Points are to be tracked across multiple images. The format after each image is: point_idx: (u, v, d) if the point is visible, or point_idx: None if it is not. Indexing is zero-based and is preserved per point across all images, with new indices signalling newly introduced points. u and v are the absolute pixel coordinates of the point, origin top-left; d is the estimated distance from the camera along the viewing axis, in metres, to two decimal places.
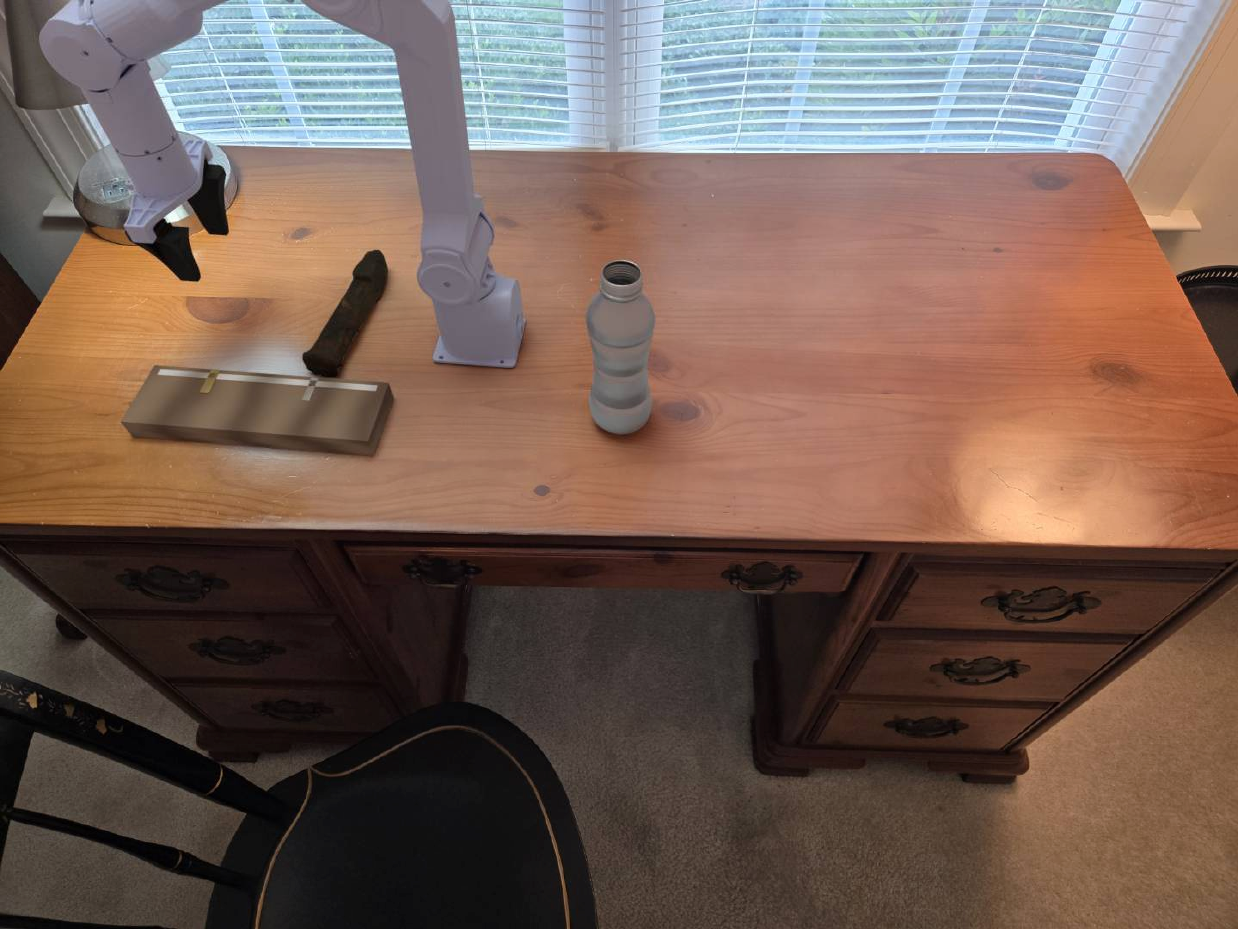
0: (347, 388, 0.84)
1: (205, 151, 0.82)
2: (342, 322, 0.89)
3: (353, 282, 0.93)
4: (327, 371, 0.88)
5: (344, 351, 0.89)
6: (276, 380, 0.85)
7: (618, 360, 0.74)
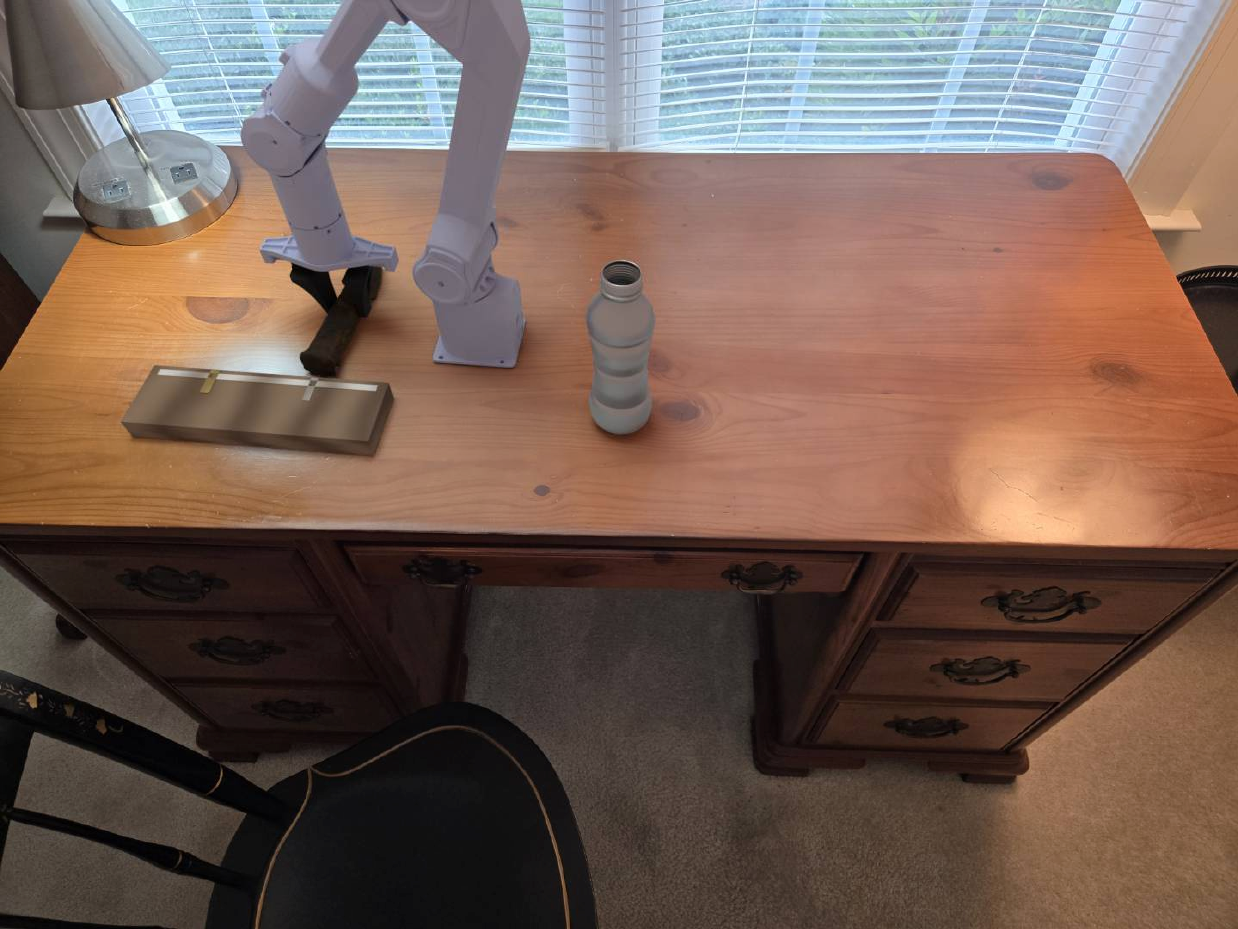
0: (347, 388, 0.84)
1: (382, 262, 0.85)
2: (338, 321, 0.89)
3: None
4: (325, 371, 0.87)
5: (341, 350, 0.89)
6: (276, 380, 0.85)
7: (618, 360, 0.74)
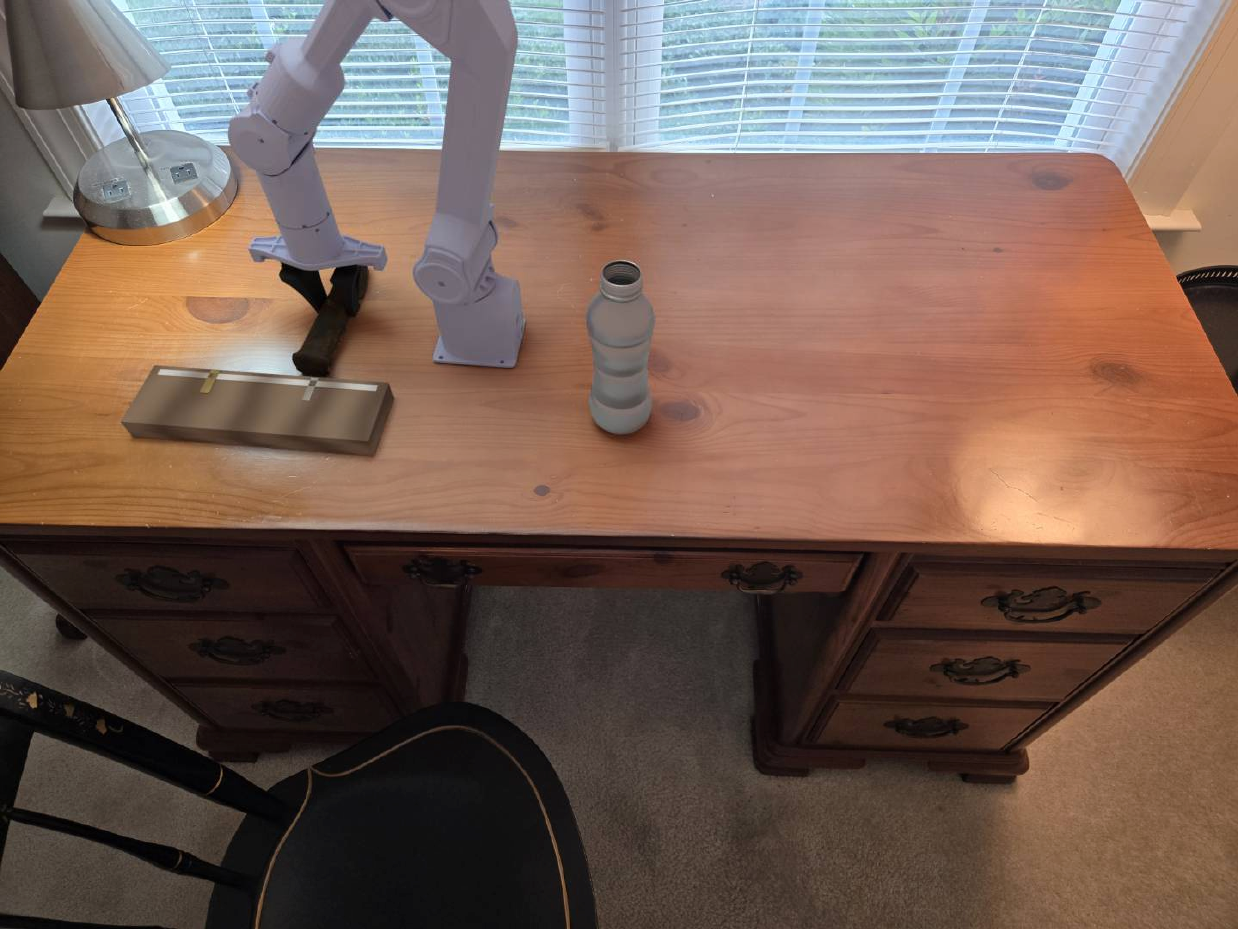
0: (347, 388, 0.84)
1: (371, 262, 0.85)
2: (329, 321, 0.89)
3: None
4: (318, 371, 0.87)
5: (333, 350, 0.89)
6: (276, 380, 0.85)
7: (618, 360, 0.74)
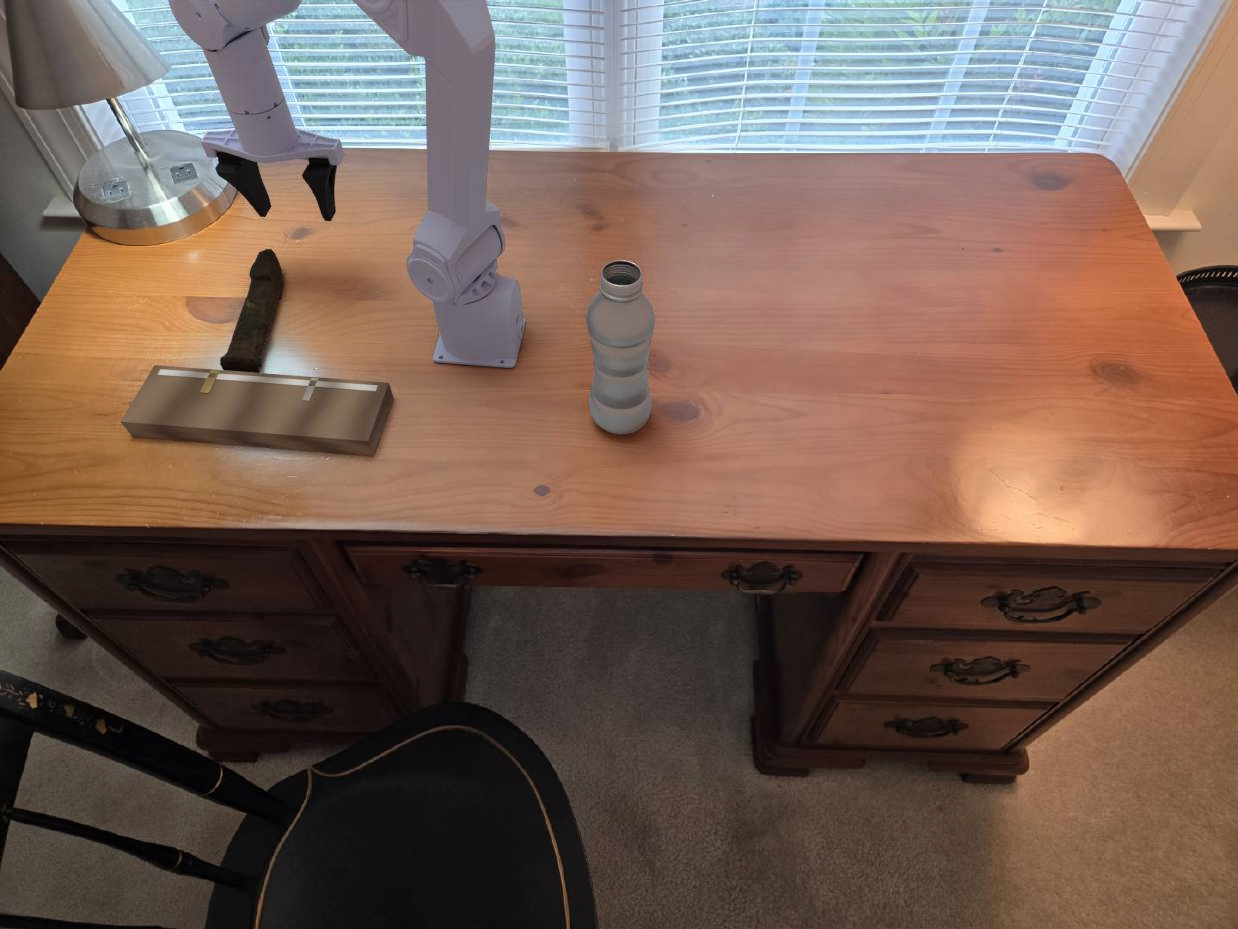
0: (347, 388, 0.84)
1: (326, 155, 0.83)
2: (252, 322, 0.89)
3: (252, 283, 0.93)
4: None
5: (261, 350, 0.89)
6: (276, 380, 0.85)
7: (618, 360, 0.74)
